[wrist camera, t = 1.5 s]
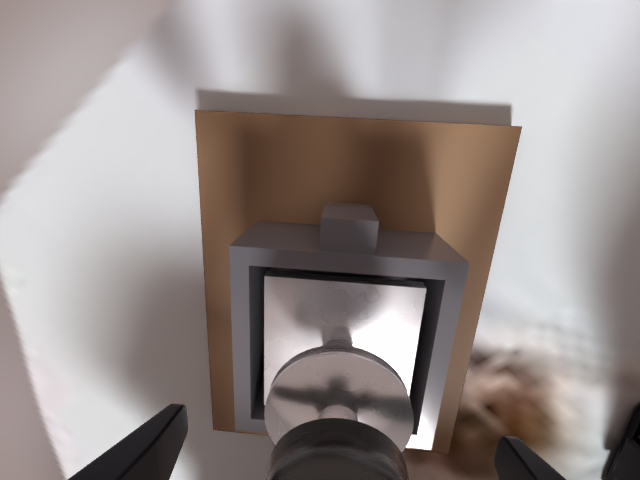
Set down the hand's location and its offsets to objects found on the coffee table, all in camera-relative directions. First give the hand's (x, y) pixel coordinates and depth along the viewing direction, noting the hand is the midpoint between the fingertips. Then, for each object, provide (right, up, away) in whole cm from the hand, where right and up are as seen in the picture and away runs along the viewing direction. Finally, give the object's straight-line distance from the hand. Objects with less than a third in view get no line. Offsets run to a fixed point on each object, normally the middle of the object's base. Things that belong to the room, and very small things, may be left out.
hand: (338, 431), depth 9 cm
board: (+1, +2, +8) cm, 8 cm away
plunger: (0, +1, +4) cm, 4 cm away
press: (0, +2, +7) cm, 7 cm away
